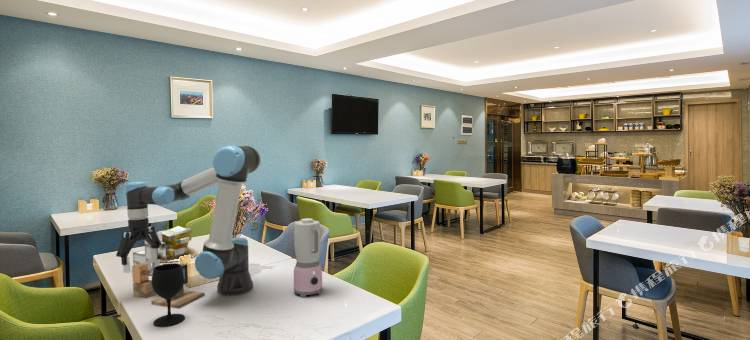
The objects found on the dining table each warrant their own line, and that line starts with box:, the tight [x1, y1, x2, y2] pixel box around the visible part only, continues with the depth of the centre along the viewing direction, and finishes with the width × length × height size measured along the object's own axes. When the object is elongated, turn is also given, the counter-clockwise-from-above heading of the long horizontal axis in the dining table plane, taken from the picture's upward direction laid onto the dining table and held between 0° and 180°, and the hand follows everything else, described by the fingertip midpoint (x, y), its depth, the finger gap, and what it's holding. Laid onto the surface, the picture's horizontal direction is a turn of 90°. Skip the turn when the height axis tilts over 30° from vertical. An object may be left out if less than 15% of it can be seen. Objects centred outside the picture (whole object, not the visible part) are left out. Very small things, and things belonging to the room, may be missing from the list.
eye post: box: [174, 263, 189, 299], centre depth 164 cm, size 2×8×13 cm, turn 163°
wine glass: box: [151, 262, 186, 328], centre depth 144 cm, size 10×10×20 cm
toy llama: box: [132, 231, 166, 270], centre depth 202 cm, size 8×18×20 cm, turn 63°
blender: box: [293, 217, 323, 298], centre depth 170 cm, size 16×12×32 cm
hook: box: [131, 263, 153, 283], centre depth 168 cm, size 19×4×7 cm, turn 73°
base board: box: [151, 289, 206, 309], centre depth 164 cm, size 14×14×1 cm
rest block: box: [132, 279, 157, 299], centre depth 170 cm, size 7×5×6 cm
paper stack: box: [158, 225, 198, 263], centre depth 229 cm, size 25×25×17 cm
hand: (141, 267), depth 170 cm, fingers open, 13 cm apart
